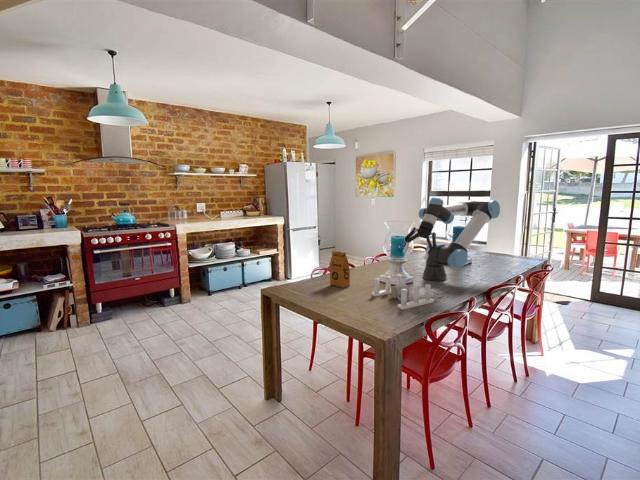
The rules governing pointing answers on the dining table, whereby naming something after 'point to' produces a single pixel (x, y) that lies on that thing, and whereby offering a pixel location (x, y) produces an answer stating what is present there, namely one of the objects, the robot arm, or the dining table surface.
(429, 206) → the robot arm
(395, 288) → the ceramic mug
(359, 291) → the dining table surface
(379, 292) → the rack
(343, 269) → the coffee package
